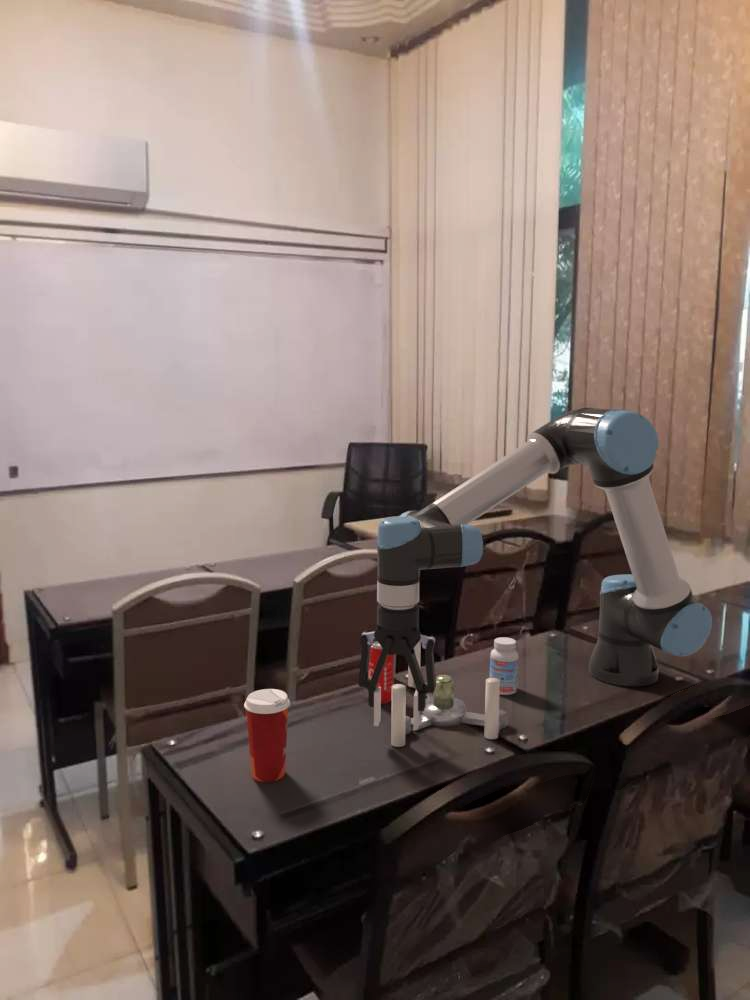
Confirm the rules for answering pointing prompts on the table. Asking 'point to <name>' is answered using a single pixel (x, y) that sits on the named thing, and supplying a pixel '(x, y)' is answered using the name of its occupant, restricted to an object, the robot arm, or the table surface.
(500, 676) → the pill bottle
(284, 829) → the table surface
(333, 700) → the table surface
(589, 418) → the robot arm
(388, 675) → the beverage can
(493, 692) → the knob
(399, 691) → the knob
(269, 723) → the paper cup
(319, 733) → the table surface
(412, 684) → the white lever handle
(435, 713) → the levelling base
